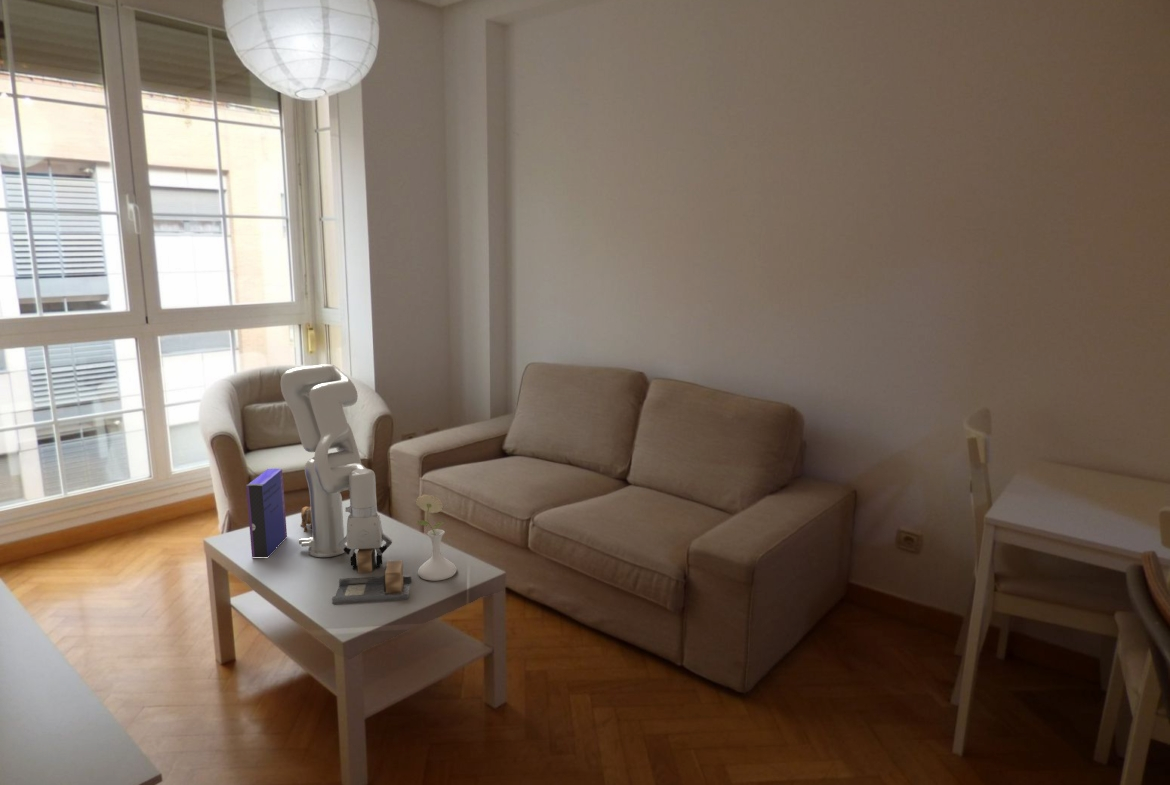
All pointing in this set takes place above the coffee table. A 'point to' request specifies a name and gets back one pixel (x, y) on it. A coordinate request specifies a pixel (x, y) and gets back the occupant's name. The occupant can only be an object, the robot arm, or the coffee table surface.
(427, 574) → the flower in vase
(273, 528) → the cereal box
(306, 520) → the lion figurine
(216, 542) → the coffee table surface
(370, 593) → the gray tray
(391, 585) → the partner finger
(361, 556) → the block
